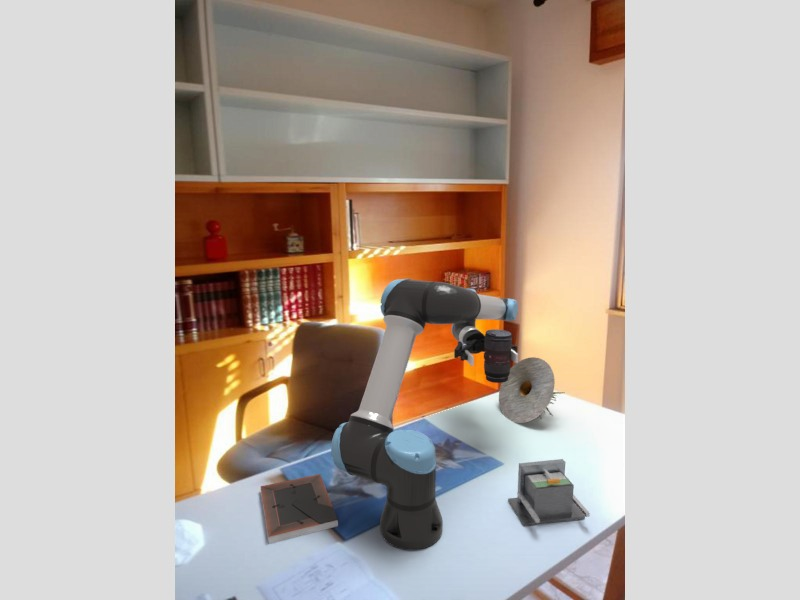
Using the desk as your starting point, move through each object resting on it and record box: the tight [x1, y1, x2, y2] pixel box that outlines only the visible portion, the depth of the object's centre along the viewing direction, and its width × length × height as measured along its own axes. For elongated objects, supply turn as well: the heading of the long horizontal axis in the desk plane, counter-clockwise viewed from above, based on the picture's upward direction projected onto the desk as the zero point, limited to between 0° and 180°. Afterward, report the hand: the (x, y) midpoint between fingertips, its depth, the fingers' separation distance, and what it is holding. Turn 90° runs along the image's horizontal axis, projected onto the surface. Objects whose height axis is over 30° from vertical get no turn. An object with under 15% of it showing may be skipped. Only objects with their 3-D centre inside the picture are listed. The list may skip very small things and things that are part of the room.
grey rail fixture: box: [516, 458, 591, 523], centre depth 116 cm, size 14×12×10 cm
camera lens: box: [483, 328, 513, 384], centre depth 143 cm, size 8×8×15 cm
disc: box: [498, 356, 566, 424], centre depth 173 cm, size 25×18×25 cm
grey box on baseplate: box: [507, 472, 586, 527], centre depth 119 cm, size 16×10×9 cm, turn 99°
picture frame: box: [260, 473, 339, 544], centre depth 121 cm, size 16×2×22 cm
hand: (494, 359), depth 137 cm, fingers open, 13 cm apart
